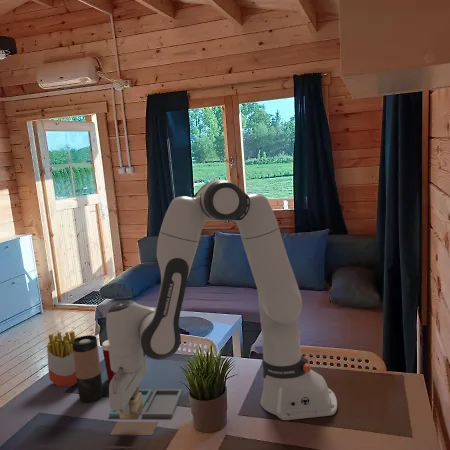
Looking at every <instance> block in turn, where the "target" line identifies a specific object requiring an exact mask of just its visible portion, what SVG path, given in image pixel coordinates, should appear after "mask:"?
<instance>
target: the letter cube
mask: <svg viewBox="0 0 450 450" xmlns="http://www.w3.org/2000/svg"><path fill="white" fill-rule="evenodd" d="M128 404H129V406H131V412H130V414H129V415H124V414H123V410H119V415H120V417H119V419H120V420H138V418H140V416H141V414H142V413H143V411H144V409H143V403H142V393H141V392H134V394H133V395H132V397H131V398H130V400H129V403H128ZM140 413H141V414H140ZM139 415H140V416H139Z"/></svg>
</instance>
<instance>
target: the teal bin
mask: <svg viewBox="0 0 450 450" xmlns="http://www.w3.org/2000/svg"><path fill="white" fill-rule="evenodd" d="M139 392H141V393H142V403H143V410H144V409H145V407H146V405H147V403H148V401H149V400H150V398H151V396H152V394H153V389H151V388H150V389H144V388H139ZM108 415H109V418H120V415H119V410H112V409H111V410H110V411H109V413H108ZM141 415H142V412H141V413H140V415H139V417H140V416H141Z"/></svg>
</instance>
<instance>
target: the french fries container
mask: <svg viewBox="0 0 450 450" xmlns="http://www.w3.org/2000/svg"><path fill="white" fill-rule="evenodd" d="M75 333H76V332H75V330H72V331H70V332H69V331H65V335H63V336H62V332H61V331H59V332H57V333H56V334H57V335H54V334H53V333H50V334H48V341H49V342H48V343H47V345H46V348H47V351H46V352H47V368H48V377H49V380H50V381H51V382H52V383H53V384H54V385H56V386H58V387H65V386H66V387H68V386H69V387H70V386H75V385H76V384H77V379H76V372H75V363H74V354H73V346H72V343H73V342H74V340H75V339H76V338H78V337H79V336H78V337H76V334H75Z"/></svg>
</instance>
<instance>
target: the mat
mask: <svg viewBox="0 0 450 450" xmlns="http://www.w3.org/2000/svg"><path fill="white" fill-rule="evenodd" d="M158 424H159V422H158V421H117V422H116V423H115V425H114V427H113V429H112V430H111V432H110V434H109V436H148V437H149V436H153V435H154V432H155V430H156V427H157V425H158Z"/></svg>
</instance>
